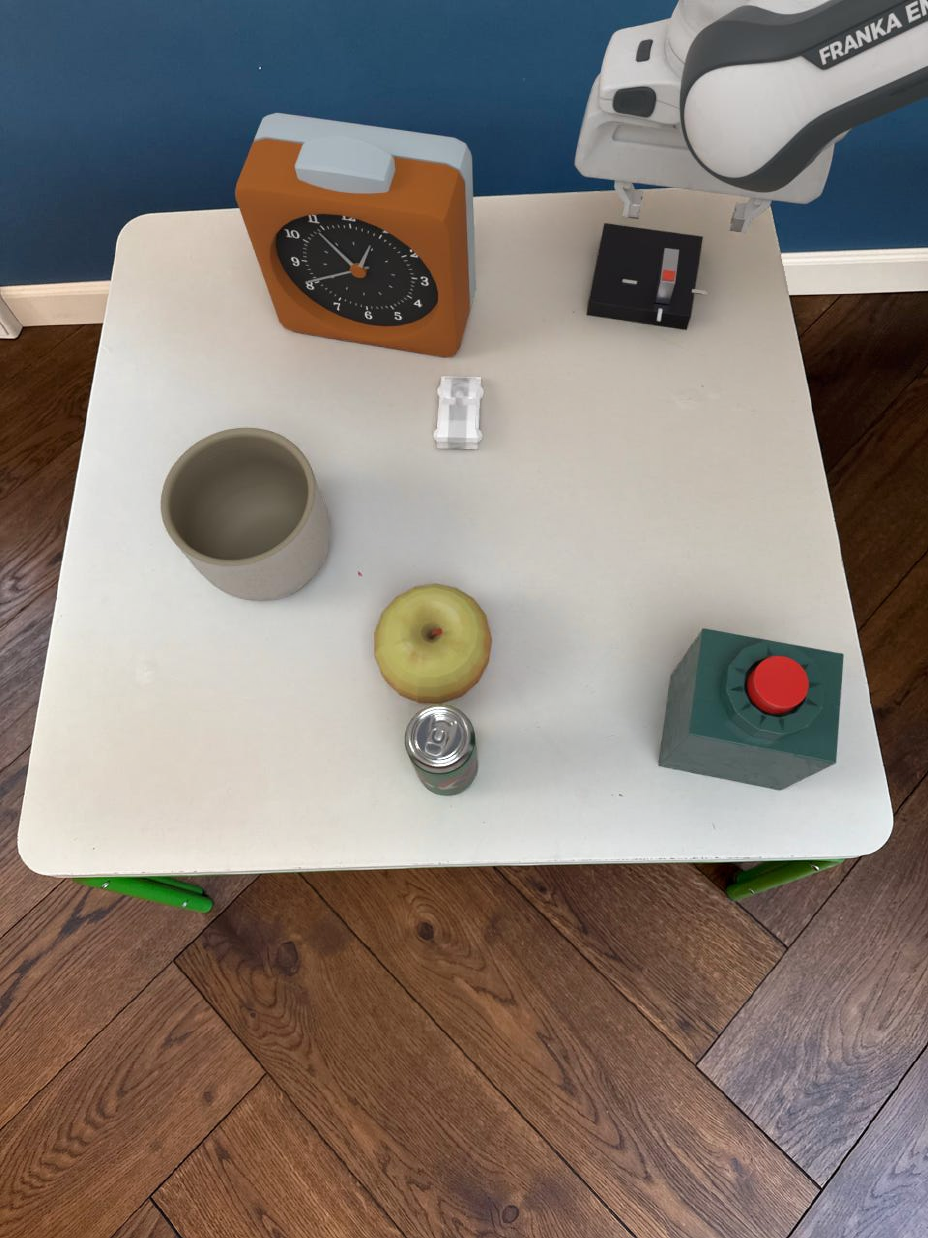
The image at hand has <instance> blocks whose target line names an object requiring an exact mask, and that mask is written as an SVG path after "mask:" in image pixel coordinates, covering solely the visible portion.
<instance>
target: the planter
mask: <svg viewBox="0 0 928 1238" xmlns="http://www.w3.org/2000/svg"><path fill="white" fill-rule="evenodd" d="M309 461H310V460H309V459H308V458H307V457H306V455H305V454H304V452H303V451H302V450H301V449H300V448H299V446H297V445H296V444H295V443H294V442H293V441H291V440H290V439H288V438H286V437H284V436H283V435H281V434H279V433H276V432H274V431H271V430H267V429H263V428H257V427H234V428H229V429H225V430H221V431H218V432H215V433H212V434H210V435H207V436H205V437H204V438H201V439H200V440H199V441H197V442H196V443H194V444H192V445H191V446H190V447H188V448H187V449H186V451H184V452H183V453H182V454H181V455H180V456H179V457H178V458H177V460H176V461H175V462H174V463H173V465H172V466H171V468H170V470H169V471H168V474H167V476H166V477H165V480H164V483H163V486H162V490H161V495H160V514H161V519H162V523H163V526H164V528H165V530H166V532H167V534H168V536H169V538H170V539H171V541H172V542H173V543H174V544H175V546H176V547H177V548H178V549H179V550H180V551H181V553H182V554H183V555H184V556H185V557H186V558H187V559H188V561H189V562H190V563H191V564H192V566H193V567H194V568H195V569H196V570H197V571H198V572H199V574H201V575H202V576H203V577H204V578H205V580H207V581H208V582H209V583H210V584H212V586H215V588H217V589H219V591H222V592H223V593H225V594H227V595H229V596H232V597H234V598H237V599H242V600H244V601H245V600H246V601H252V602H253V601H254V602H269V601H273V600H279V599H282V598H285V597H287V596H290V595H292V594H294V593H296V592H297V591H299V590H300V589H302V588H303V587H304V586H306V585H307V584H308V583H309V582H310V581H311V580H312V579H314V577H315V576H316V574H317V573H318V572H319V571H320V569H321V567H322V565H323V563H324V561H325V559H326V557H327V553H328V550H329V545H330V539H331V525H330V518H329V513H328V509H327V507H326V502H325V500H324V496H323V493H322V491H321V489H320V486H319V483H318V481H317V477H316V475H315V473H314V470H313V467H312V466H311V463H310V462H309Z"/></svg>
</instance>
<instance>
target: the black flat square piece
mask: <svg viewBox="0 0 928 1238" xmlns="http://www.w3.org/2000/svg"><path fill="white" fill-rule="evenodd" d="M703 239H704V236H702V235H695V234H687V233H682V232H681V233H680V232H674V231H673V232H672V231H665V230H659V229H651V228H645V227H644V228H643V227H638V226H631V225H630V226H629V225H622V224H615V223H608V222H604V223H603V227H602V232H601V237H600V241H599V247H598V252H597V257H596V262H595V267H594V271H593V277H592V282H591V287H590V291H589V298H588V301H587V309H586V316H590V317H598V318H603V319H609V320H617V321H624V322H628V323H629V322H630V323H635V324H636V323H637V324H643V325H649V326H657V327H663V328H670V329H676V330H677V329H678V330H683V331H687V330H688V327H689V324H690V321H691V318H692V313H693V306H694V301H695V294H696V295H701V296H707V292H708V291H707V290H701V289H696V287H697V286H696V285H697V279H698V272H699V266H700V260H701V253H702V246H703V241H704V240H703ZM665 248H668V249H677V250H679V256H678V264H677V272H676V281H675V285H674V289H673V293H672V296H671V300H670V304H662V303H655V298H656V291H657V283H658V276H659V269H660V265H661V261H662V257H663V253H664V249H665Z"/></svg>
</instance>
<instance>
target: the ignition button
mask: <svg viewBox="0 0 928 1238" xmlns="http://www.w3.org/2000/svg"><path fill="white" fill-rule="evenodd" d="M808 687H809V683H808V678H807V675H806V673H805V671H804V669H803V668H802V667H801V666H800V665H799V664H798V663H797V662H796V661H794V660H792V659H790V658H788V657H784V656H773V657H769V658H767V659H765V660H763V661H762V662H761V663H760V664H759V665H758V666H757V667H756V668H755V669H754V670H753V671H752V672H751V674H750V676H749V678H748V682H747V689H748V693H749V696H750V698H751V700H752V701H753V702H754V704H755V705H756V706H758V707H759V708H760V709H762V710H764V711H766V712H769V713H774V714H780V713H785V712H787V711H789V710H791V709H792V708H794V707H795V706H796V705H798V704H799V703H800V702H801V701H802V700H803V699H804V698H805V696H806V694H807V692H808Z"/></svg>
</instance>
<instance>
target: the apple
mask: <svg viewBox="0 0 928 1238" xmlns="http://www.w3.org/2000/svg"><path fill="white" fill-rule="evenodd" d="M373 633H374V635H373V638H374V639H373V640H374V641H373V643H374V648H373V649H374V651H373V653H374V659H375V661H376V664H377V666H378V668H379V672H380V674H381V676H382V678H383V680H384V681H385V682H386V683H387V684H388V685H389V686H390V687H391V688H392V689H393V690H394V691H395V692H396V693H397V694H398V695H399V696H401V697H404V698H406V699H408V700H411V701H413V702H416V703H418V704H429V705H431V704H432V705H440V704H442V705H443V704H444V703H448V702H450V701H453V700H456V699H459V698H462V697H463V696H464V695H465V694H466V693H467V692H469V691H470V690H471V689H472V688H474V687H475V686H476V685H477V684H478V683H479V681H480V680H481V678H482V675H483V674H484V672H485V670H486V668H487V667H488V665H489V662H490V657H491V650H492V649H491V648H492V642H493V637H492V633H491V630H490V625H489V621H488V617H487V615H486V613H485V612H484V610H483V609H482V608H481V606H480V605H479V603H478V602H477V601H476V600H475V598H473V597H472V596H470V595H469V594H468V593H465V592H464V591H463V590H461V589H459V588H458V587H454V586H450V585H445V584H440V583H430V584H425V585H418V586H414V587H412V588H410V589H408V590H406V591H404V592H402V593H401V594H399V595H397V596H395V597H394V599H392V601H391V602H390V603H389V604H388V605H387V607H385V609H384V610H383V611H382V612H381V614H380V616H379V619H378V621H377V624H376V627H375V629H374V632H373Z"/></svg>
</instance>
